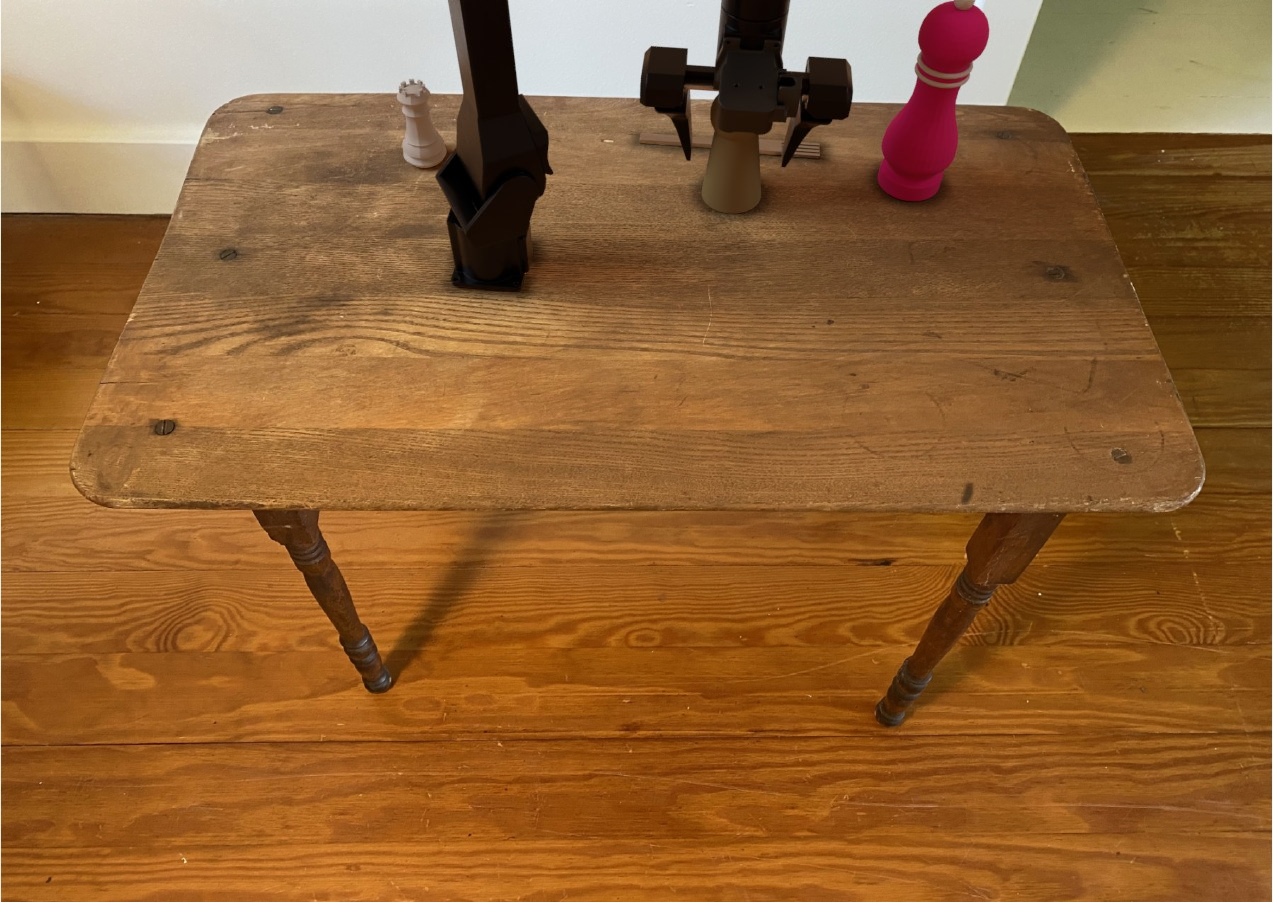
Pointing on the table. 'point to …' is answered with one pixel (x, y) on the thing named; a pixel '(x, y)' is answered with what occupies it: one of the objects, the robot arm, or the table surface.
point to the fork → (705, 142)
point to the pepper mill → (932, 102)
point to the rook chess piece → (419, 127)
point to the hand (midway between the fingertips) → (735, 161)
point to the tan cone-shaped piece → (732, 170)
